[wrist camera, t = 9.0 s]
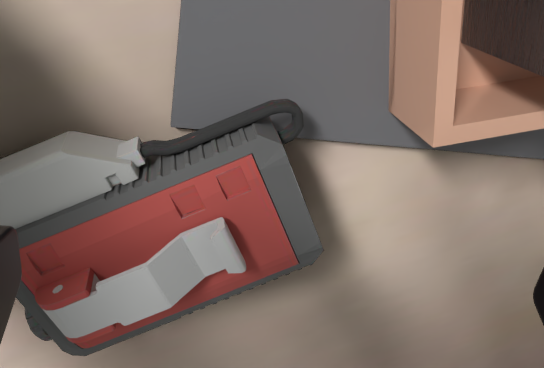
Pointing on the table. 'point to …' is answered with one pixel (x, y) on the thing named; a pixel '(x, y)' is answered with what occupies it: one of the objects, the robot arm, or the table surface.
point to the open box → (454, 79)
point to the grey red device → (152, 225)
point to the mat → (303, 71)
